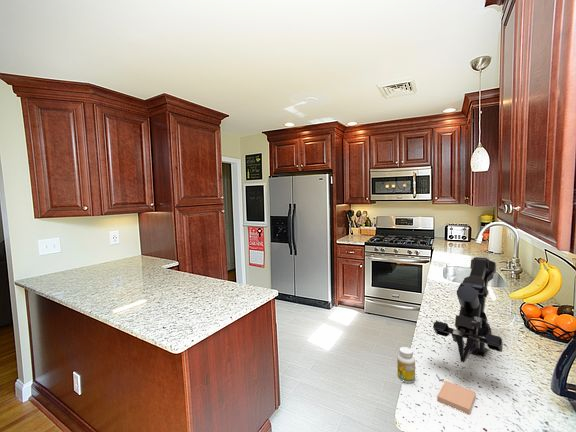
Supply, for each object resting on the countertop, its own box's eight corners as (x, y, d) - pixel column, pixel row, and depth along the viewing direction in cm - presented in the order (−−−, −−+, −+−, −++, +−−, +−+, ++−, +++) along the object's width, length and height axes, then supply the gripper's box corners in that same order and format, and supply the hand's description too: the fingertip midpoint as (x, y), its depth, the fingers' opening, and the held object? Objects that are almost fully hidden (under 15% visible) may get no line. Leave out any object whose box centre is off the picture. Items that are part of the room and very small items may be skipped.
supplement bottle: (418, 383, 89) (418, 354, 89) (401, 383, 89) (401, 355, 89) (410, 372, 95) (410, 345, 94) (394, 373, 95) (394, 345, 94)
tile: (445, 380, 88) (437, 396, 82) (475, 391, 83) (469, 409, 76) (445, 386, 88) (437, 402, 82) (475, 398, 83) (469, 416, 76)
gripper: (434, 298, 96) (424, 342, 89) (502, 311, 84) (498, 364, 77) (440, 312, 103) (431, 354, 96) (504, 326, 90) (500, 377, 83)
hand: (462, 361), depth 88 cm, fingers closed
